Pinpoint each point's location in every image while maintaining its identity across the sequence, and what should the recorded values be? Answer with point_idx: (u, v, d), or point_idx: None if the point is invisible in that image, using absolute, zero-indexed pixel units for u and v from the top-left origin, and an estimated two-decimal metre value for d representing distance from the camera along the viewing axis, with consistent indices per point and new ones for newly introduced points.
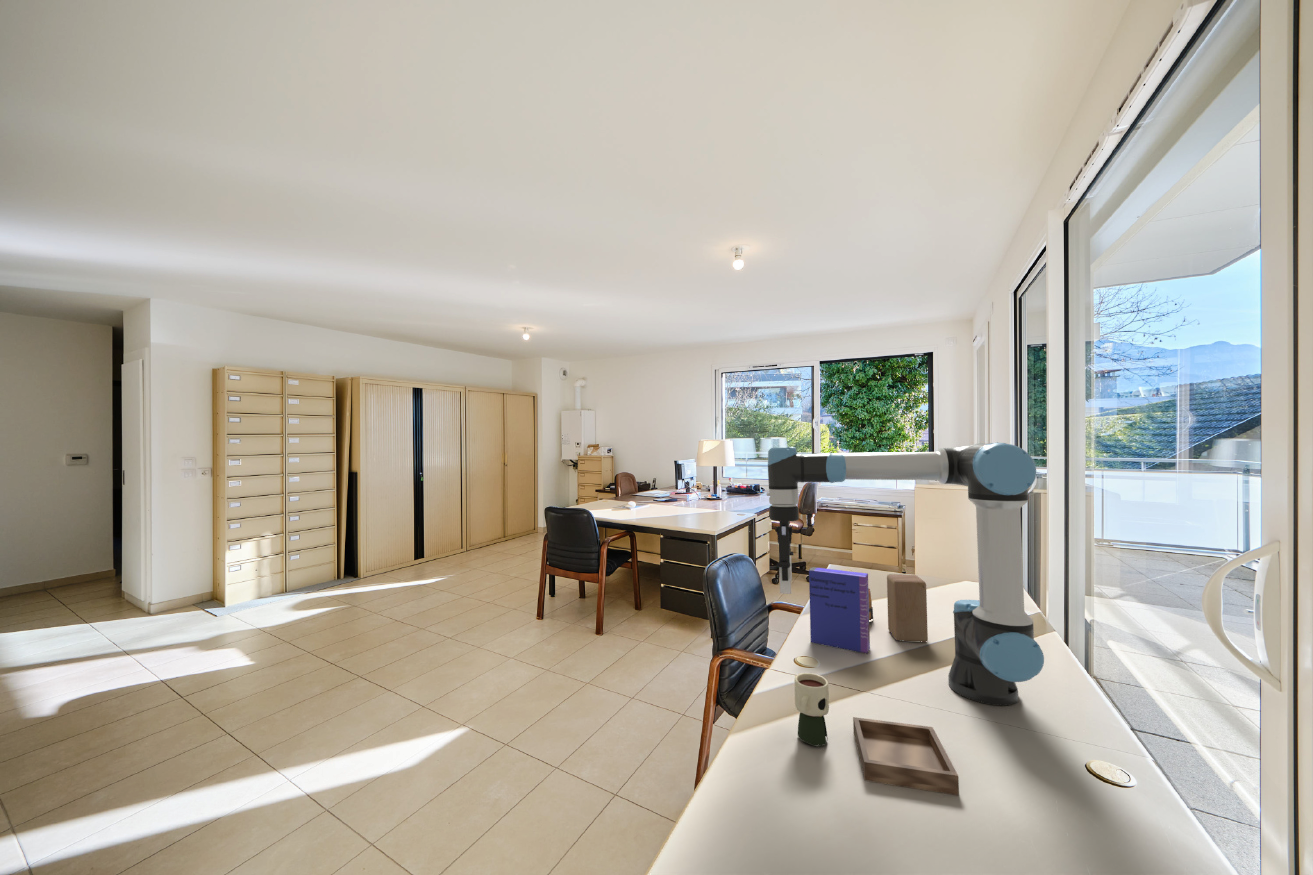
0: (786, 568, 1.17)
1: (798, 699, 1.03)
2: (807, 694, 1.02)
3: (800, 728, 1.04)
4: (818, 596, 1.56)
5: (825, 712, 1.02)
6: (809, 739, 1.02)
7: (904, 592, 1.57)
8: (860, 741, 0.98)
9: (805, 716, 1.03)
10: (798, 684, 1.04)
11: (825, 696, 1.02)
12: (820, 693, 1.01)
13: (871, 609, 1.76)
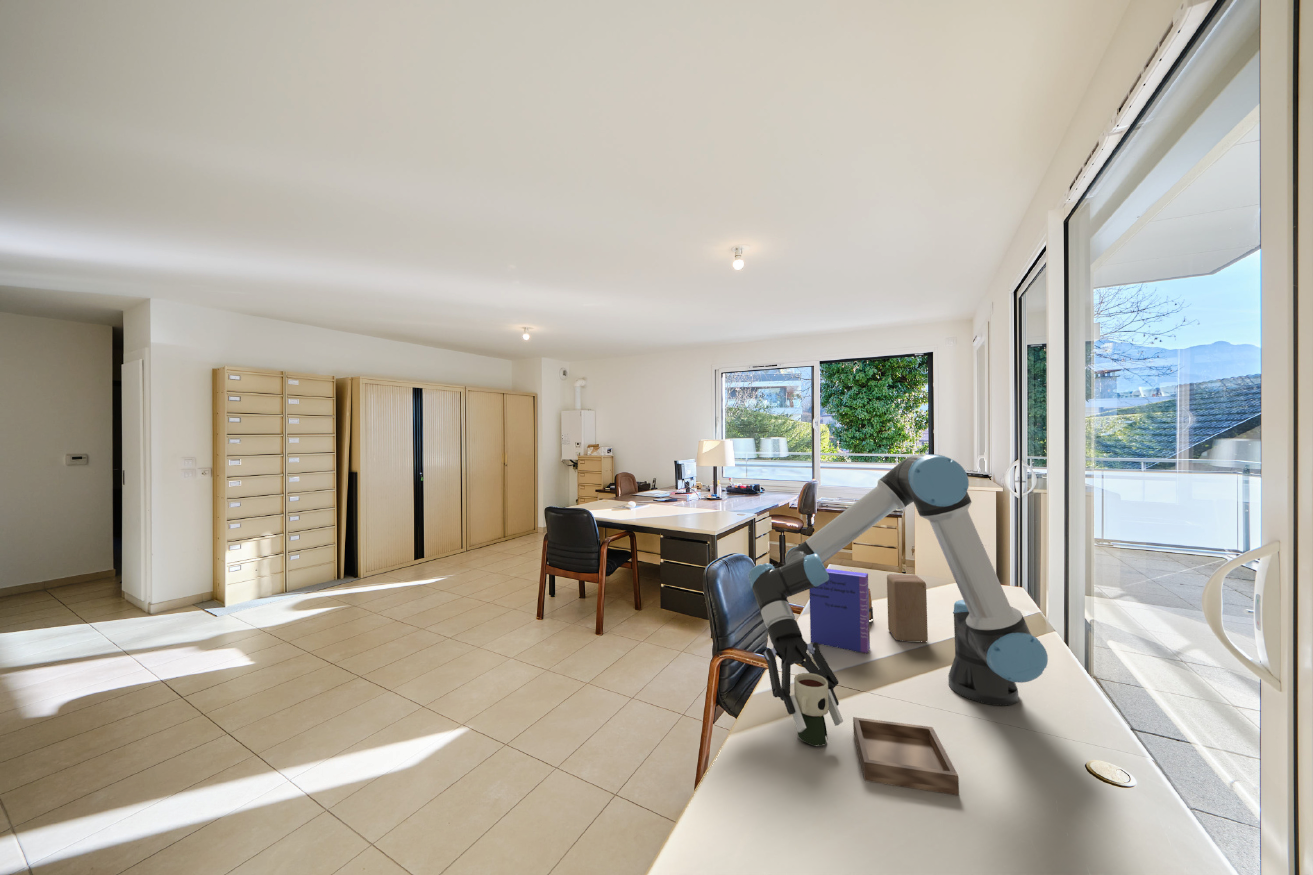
0: (784, 697, 1.04)
1: (798, 699, 1.03)
2: (807, 694, 1.02)
3: None
4: (818, 596, 1.56)
5: (825, 712, 1.02)
6: (809, 739, 1.02)
7: (904, 592, 1.57)
8: (860, 741, 0.98)
9: (805, 716, 1.03)
10: (798, 684, 1.03)
11: (825, 695, 1.02)
12: (820, 693, 1.01)
13: (871, 609, 1.76)
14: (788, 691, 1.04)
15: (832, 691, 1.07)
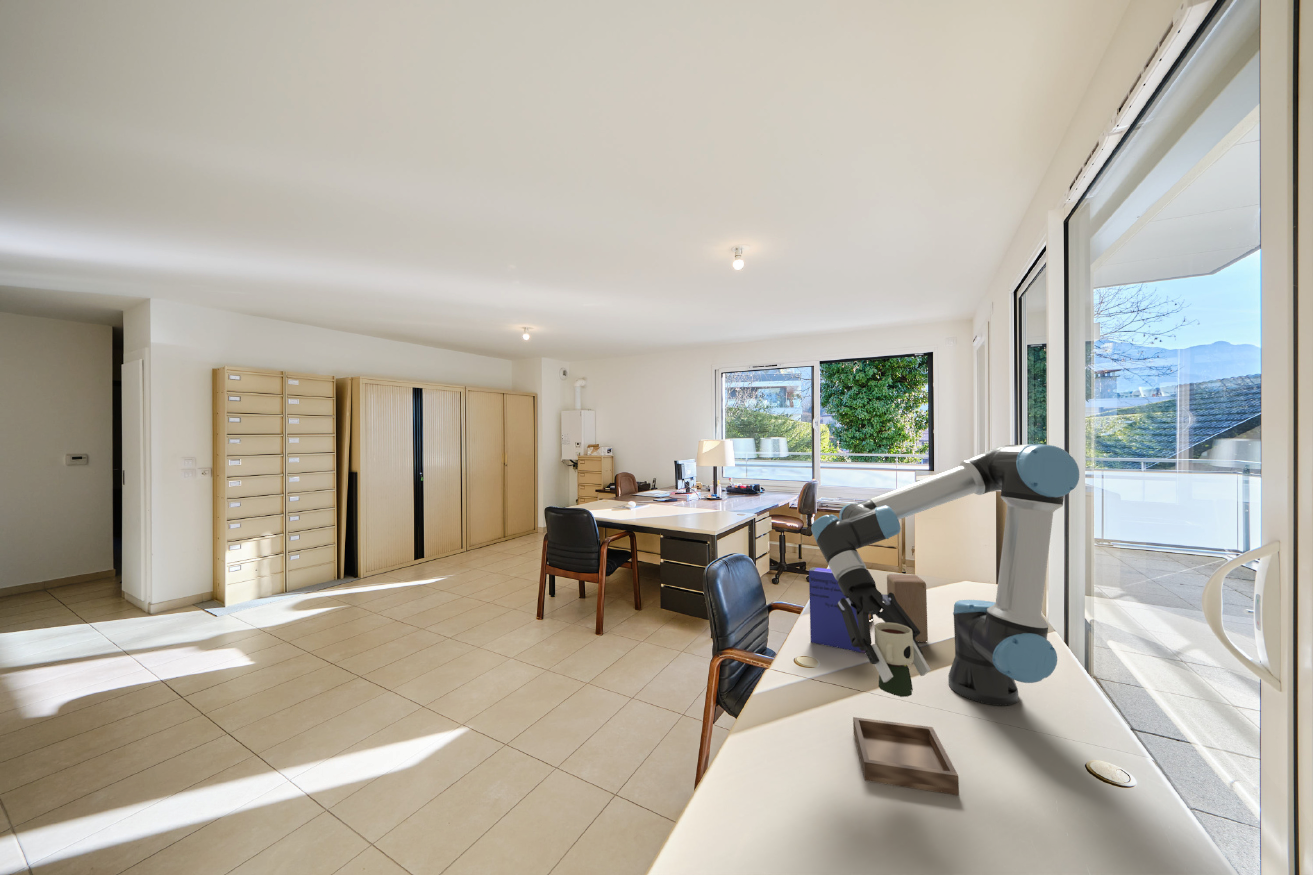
0: (865, 647, 0.97)
1: (880, 648, 0.97)
2: (891, 642, 0.95)
3: None
4: (818, 596, 1.56)
5: (911, 661, 0.95)
6: (894, 690, 0.95)
7: (904, 592, 1.57)
8: (860, 741, 0.98)
9: (888, 666, 0.97)
10: (880, 632, 0.97)
11: (911, 643, 0.95)
12: (905, 640, 0.95)
13: None
14: (869, 640, 0.98)
15: (914, 641, 1.00)
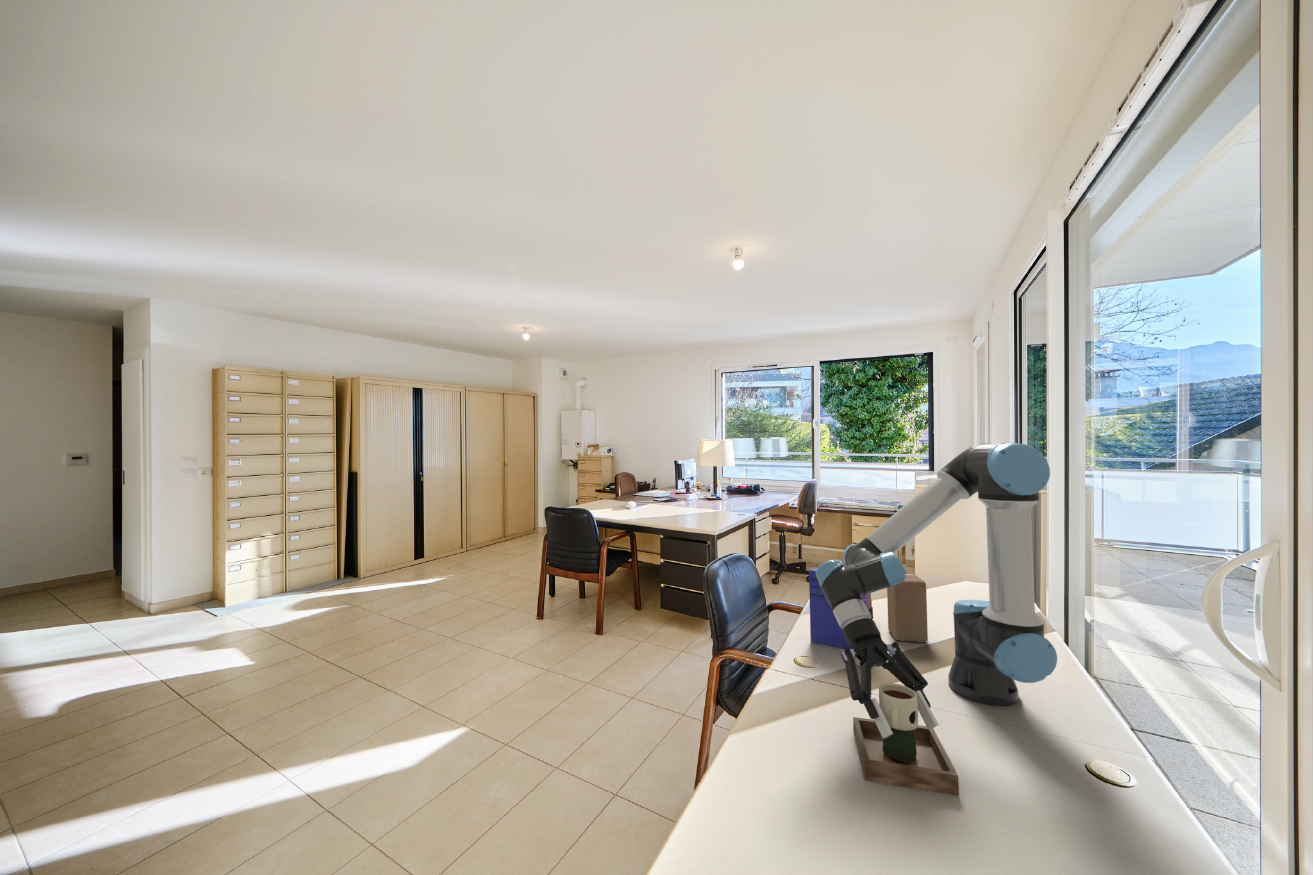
0: (865, 701, 0.97)
1: (886, 712, 0.96)
2: (897, 707, 0.94)
3: (887, 743, 0.96)
4: (818, 596, 1.56)
5: (916, 726, 0.94)
6: (899, 755, 0.94)
7: (904, 592, 1.57)
8: (860, 741, 0.98)
9: (893, 730, 0.96)
10: (885, 696, 0.96)
11: (916, 708, 0.95)
12: (911, 705, 0.94)
13: (871, 609, 1.76)
14: (869, 694, 0.97)
15: (922, 692, 1.00)
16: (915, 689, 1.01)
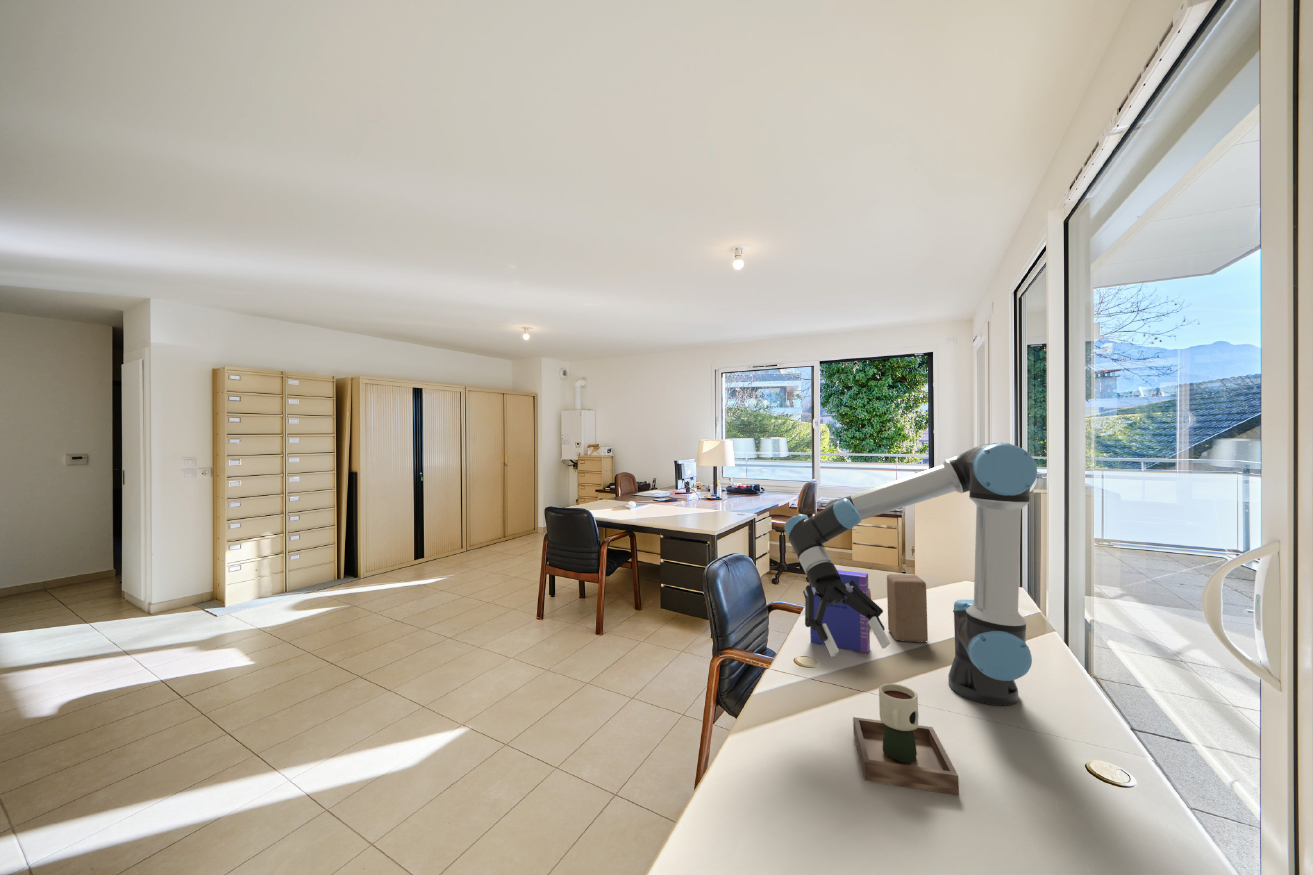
0: (816, 626, 1.10)
1: (886, 712, 0.96)
2: (897, 707, 0.94)
3: (887, 744, 0.96)
4: None
5: (916, 726, 0.94)
6: (899, 756, 0.94)
7: (904, 592, 1.57)
8: (860, 741, 0.98)
9: (893, 731, 0.96)
10: (885, 696, 0.96)
11: (916, 708, 0.95)
12: (911, 706, 0.94)
13: None
14: (820, 621, 1.11)
15: (877, 618, 1.14)
16: (872, 616, 1.15)
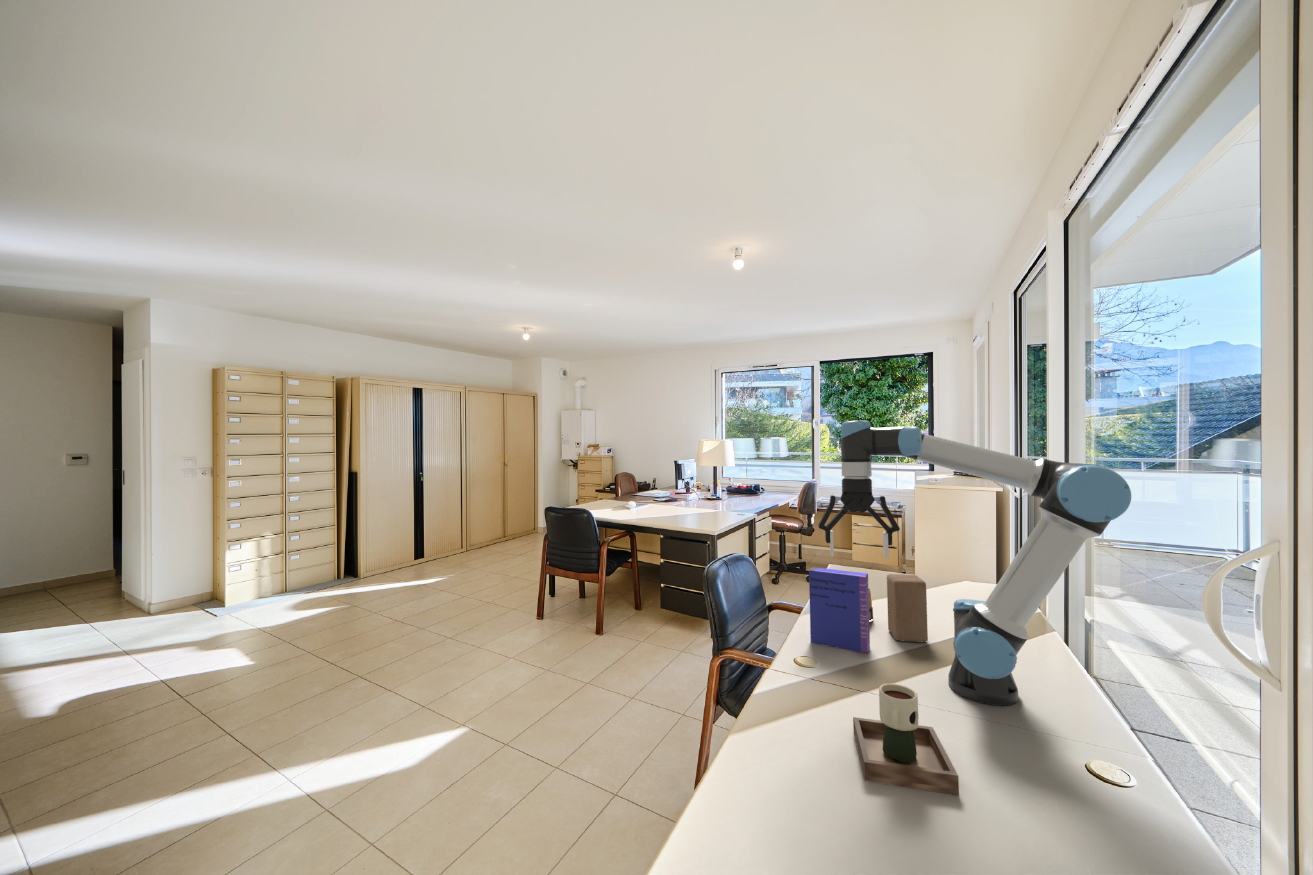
0: (825, 531, 1.31)
1: (886, 712, 0.96)
2: (897, 707, 0.94)
3: (887, 744, 0.96)
4: (818, 596, 1.56)
5: (916, 726, 0.94)
6: (899, 756, 0.94)
7: (904, 592, 1.57)
8: (860, 741, 0.98)
9: (893, 731, 0.96)
10: (885, 696, 0.96)
11: (916, 708, 0.95)
12: (911, 706, 0.94)
13: (871, 609, 1.76)
14: (829, 529, 1.30)
15: (890, 534, 1.26)
16: (886, 530, 1.27)
